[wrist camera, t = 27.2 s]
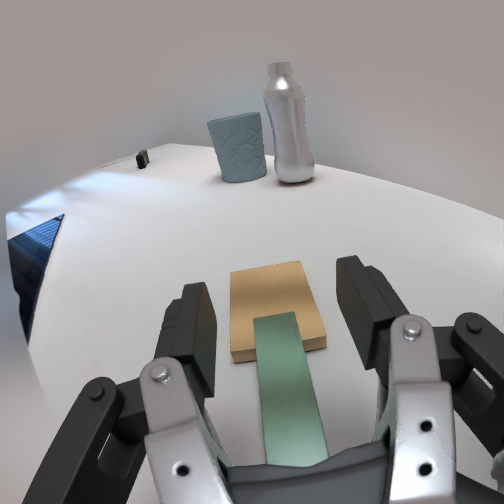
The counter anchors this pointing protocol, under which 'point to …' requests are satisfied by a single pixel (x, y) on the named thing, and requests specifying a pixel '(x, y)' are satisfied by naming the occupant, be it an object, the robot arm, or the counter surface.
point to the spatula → (280, 357)
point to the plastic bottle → (288, 124)
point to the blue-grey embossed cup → (239, 146)
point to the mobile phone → (142, 159)
